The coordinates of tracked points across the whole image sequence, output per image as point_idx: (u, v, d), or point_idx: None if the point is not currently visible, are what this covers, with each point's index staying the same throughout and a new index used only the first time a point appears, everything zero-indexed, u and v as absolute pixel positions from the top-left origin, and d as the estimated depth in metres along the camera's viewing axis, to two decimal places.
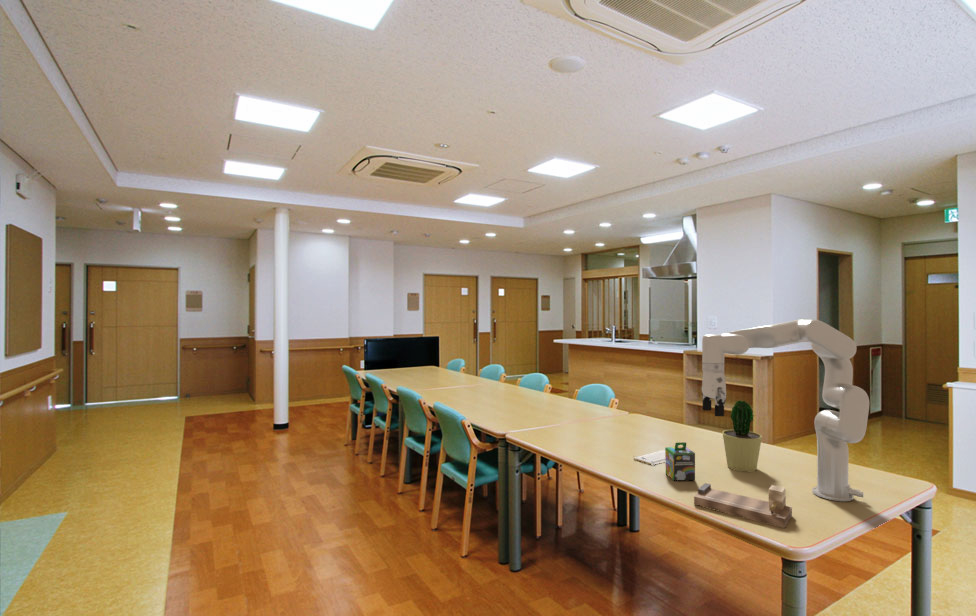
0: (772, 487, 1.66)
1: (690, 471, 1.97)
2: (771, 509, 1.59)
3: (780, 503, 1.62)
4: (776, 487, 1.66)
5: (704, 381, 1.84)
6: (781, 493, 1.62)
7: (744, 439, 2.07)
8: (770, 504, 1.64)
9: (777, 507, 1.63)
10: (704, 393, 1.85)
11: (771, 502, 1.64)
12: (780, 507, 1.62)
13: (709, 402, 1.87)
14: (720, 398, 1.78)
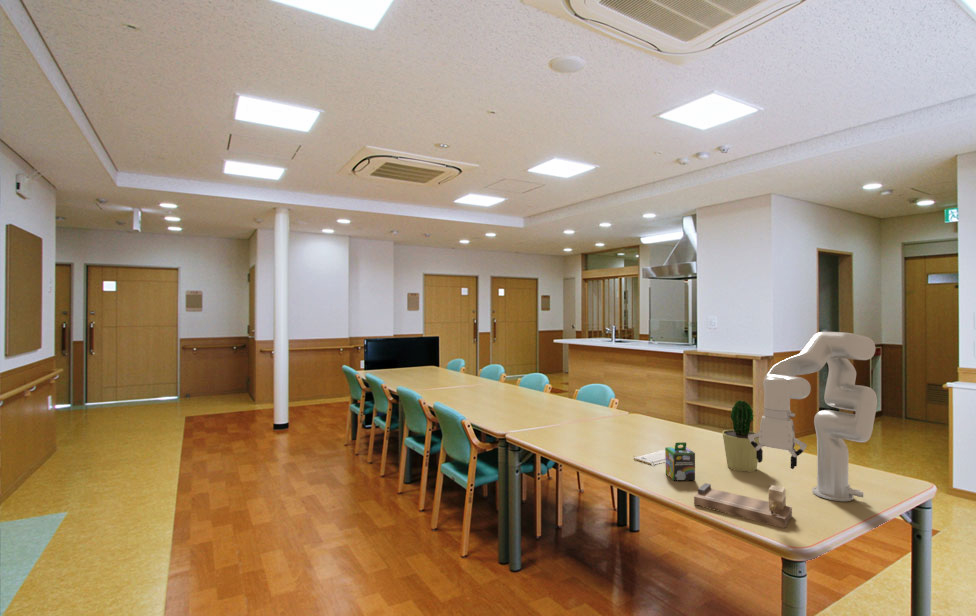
0: (772, 487, 1.66)
1: (690, 471, 1.97)
2: (771, 509, 1.59)
3: (780, 503, 1.62)
4: (776, 487, 1.66)
5: (768, 430, 1.64)
6: (781, 493, 1.62)
7: (744, 439, 2.07)
8: (770, 504, 1.64)
9: (777, 507, 1.63)
10: (766, 444, 1.65)
11: (771, 502, 1.64)
12: (780, 507, 1.62)
13: (762, 452, 1.69)
14: (792, 448, 1.62)
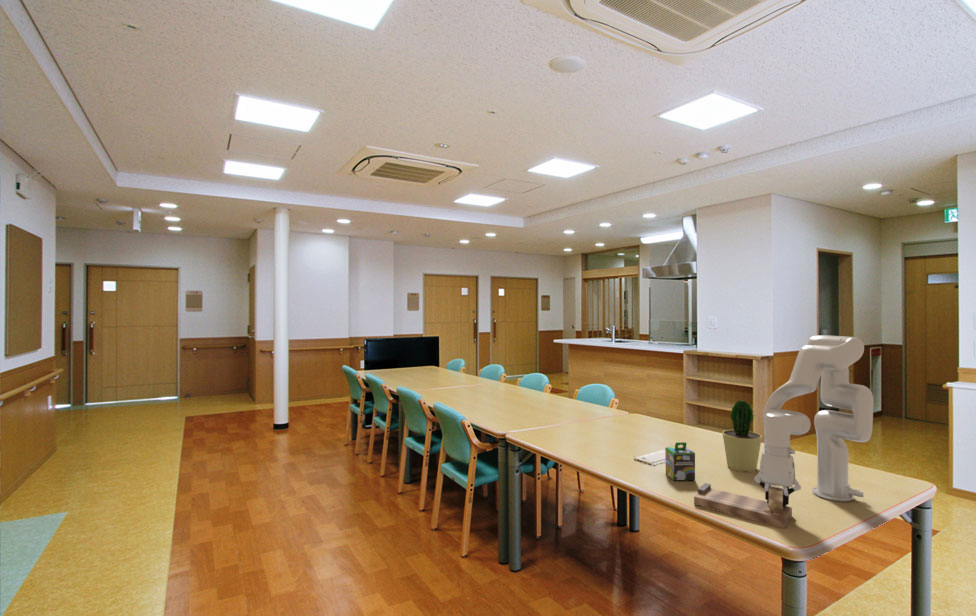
0: (772, 487, 1.66)
1: (690, 471, 1.97)
2: (771, 509, 1.59)
3: (780, 503, 1.62)
4: (776, 487, 1.66)
5: (769, 467, 1.65)
6: (781, 493, 1.62)
7: (744, 439, 2.07)
8: (770, 504, 1.64)
9: (778, 507, 1.63)
10: (767, 480, 1.65)
11: (771, 502, 1.64)
12: (780, 507, 1.62)
13: None
14: (787, 486, 1.64)
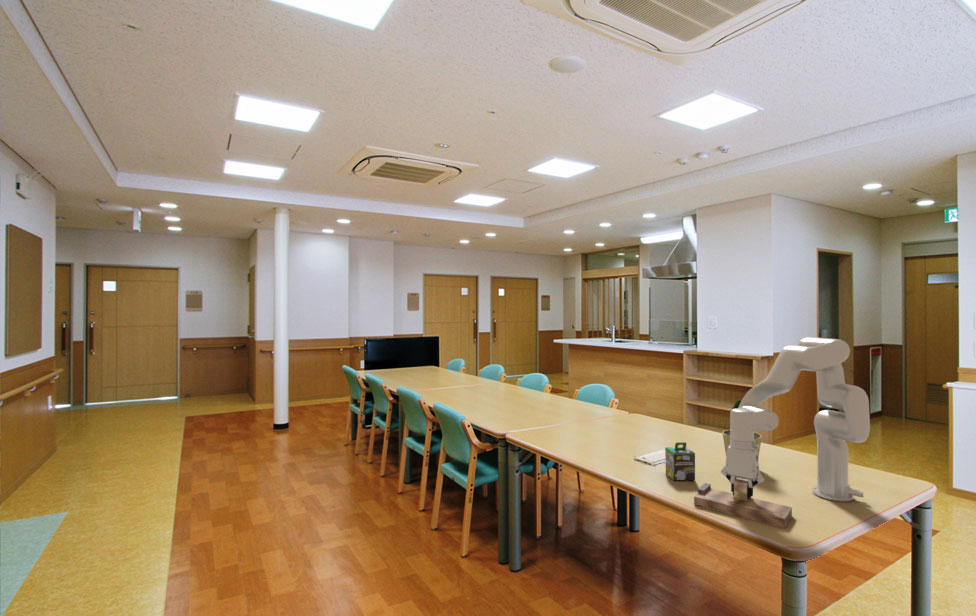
0: (738, 479, 1.73)
1: (690, 471, 1.97)
2: (735, 500, 1.66)
3: (744, 494, 1.69)
4: (741, 479, 1.73)
5: (734, 460, 1.72)
6: (745, 485, 1.69)
7: None
8: (735, 495, 1.71)
9: (742, 498, 1.70)
10: (732, 473, 1.72)
11: (736, 493, 1.71)
12: (744, 498, 1.70)
13: None
14: (752, 479, 1.71)
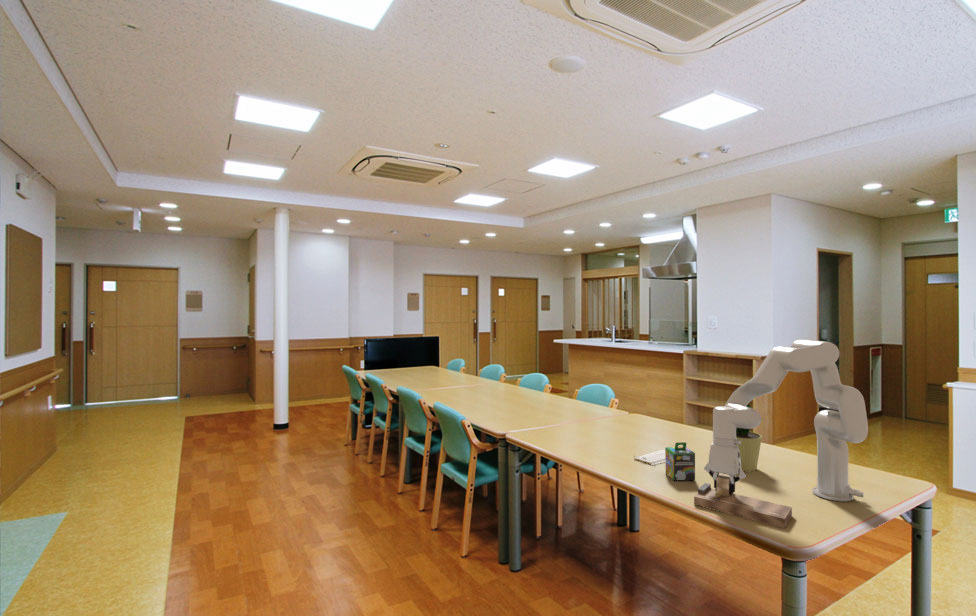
0: (720, 476, 1.77)
1: (690, 471, 1.97)
2: (717, 495, 1.70)
3: (726, 490, 1.73)
4: (724, 476, 1.77)
5: (717, 457, 1.76)
6: (727, 481, 1.73)
7: (744, 439, 2.07)
8: (718, 491, 1.75)
9: (724, 494, 1.74)
10: (715, 469, 1.76)
11: (719, 489, 1.75)
12: (726, 494, 1.73)
13: None
14: None
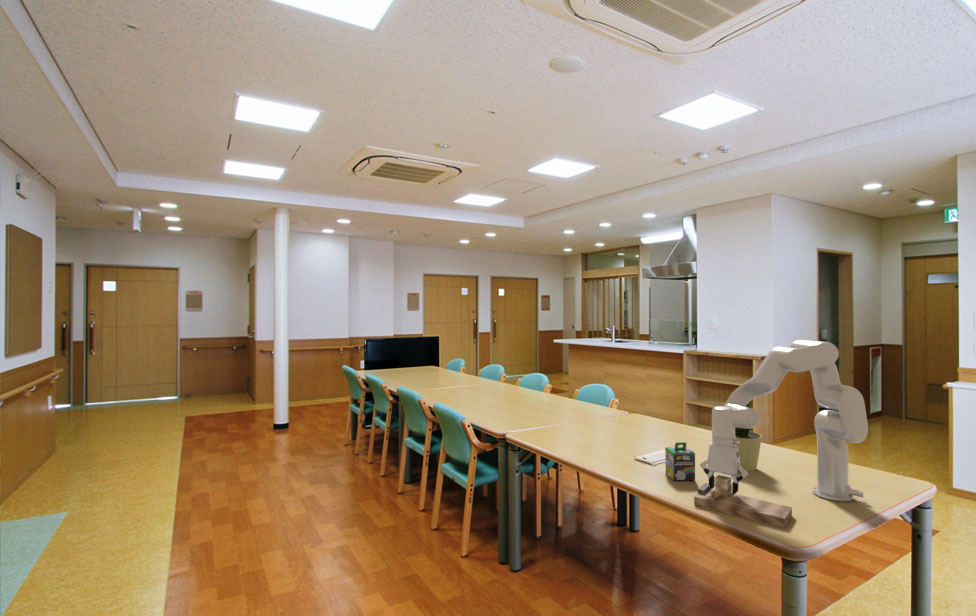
0: (719, 476, 1.77)
1: (690, 471, 1.97)
2: (716, 496, 1.70)
3: (725, 490, 1.73)
4: (723, 476, 1.77)
5: (716, 457, 1.76)
6: (726, 481, 1.73)
7: (744, 439, 2.07)
8: (716, 492, 1.75)
9: (723, 494, 1.74)
10: (714, 469, 1.76)
11: (717, 490, 1.75)
12: (725, 494, 1.73)
13: (714, 479, 1.79)
14: None
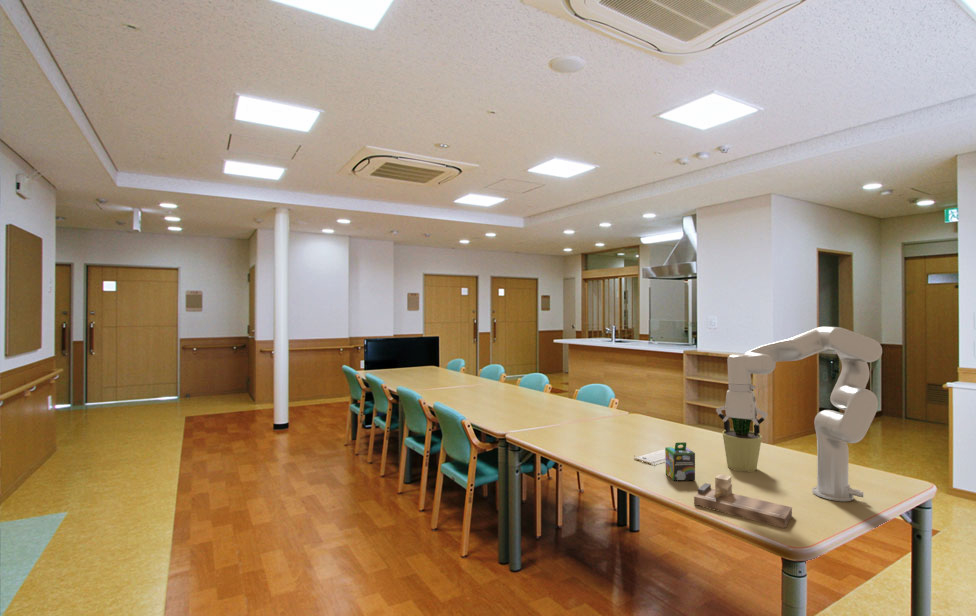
0: (719, 476, 1.77)
1: (690, 471, 1.97)
2: (716, 496, 1.70)
3: (725, 490, 1.73)
4: (723, 476, 1.77)
5: (733, 403, 1.82)
6: (726, 481, 1.73)
7: (744, 439, 2.07)
8: (716, 492, 1.75)
9: (723, 494, 1.74)
10: (732, 415, 1.82)
11: (717, 490, 1.75)
12: (725, 494, 1.73)
13: (729, 423, 1.86)
14: (755, 417, 1.80)
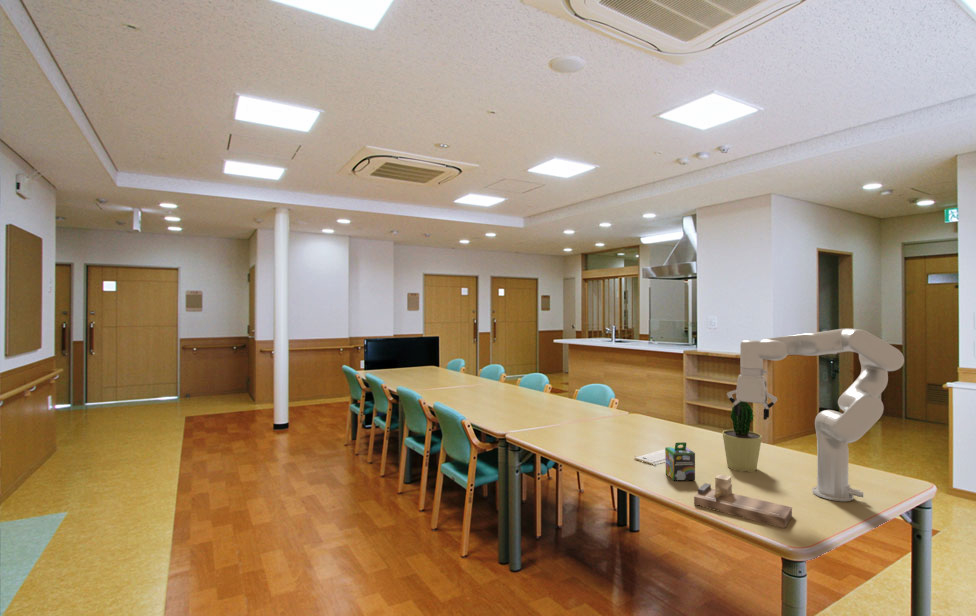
0: (719, 476, 1.77)
1: (690, 471, 1.97)
2: (716, 496, 1.70)
3: (725, 490, 1.73)
4: (723, 476, 1.77)
5: (744, 387, 1.86)
6: (726, 481, 1.73)
7: (744, 439, 2.07)
8: (716, 492, 1.75)
9: (723, 494, 1.74)
10: (742, 399, 1.87)
11: (717, 490, 1.75)
12: (725, 494, 1.73)
13: (739, 407, 1.90)
14: (765, 401, 1.84)
